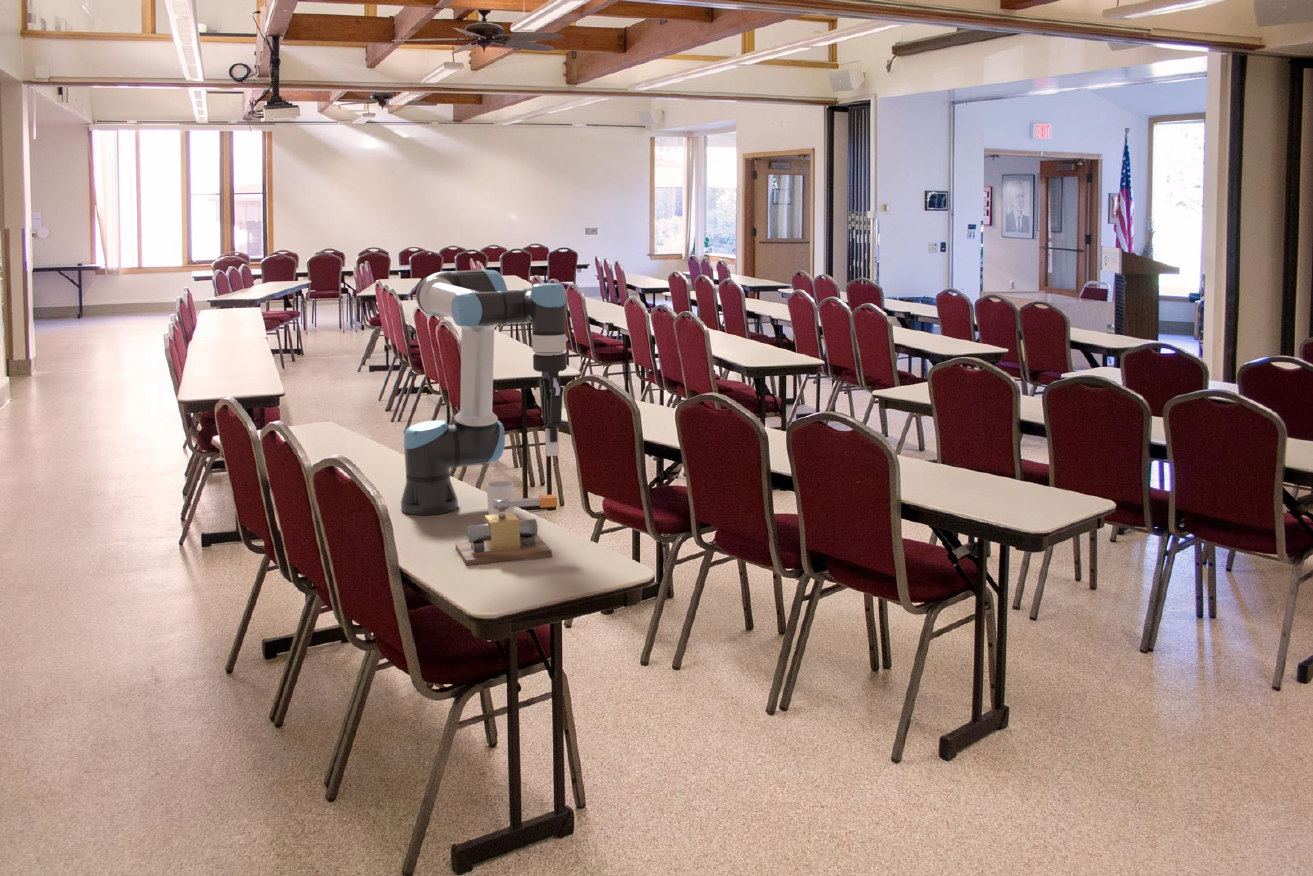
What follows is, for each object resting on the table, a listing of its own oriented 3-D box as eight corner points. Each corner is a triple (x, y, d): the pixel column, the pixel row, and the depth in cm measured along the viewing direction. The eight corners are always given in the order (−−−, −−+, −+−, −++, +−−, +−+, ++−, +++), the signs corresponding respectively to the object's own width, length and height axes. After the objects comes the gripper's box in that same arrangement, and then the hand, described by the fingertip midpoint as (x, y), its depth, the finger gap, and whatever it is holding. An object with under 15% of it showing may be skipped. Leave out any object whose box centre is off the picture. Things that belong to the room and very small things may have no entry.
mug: (517, 531, 284) (516, 485, 281) (491, 534, 281) (489, 488, 279) (509, 521, 293) (508, 476, 290) (484, 524, 291) (482, 478, 288)
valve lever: (494, 511, 262) (493, 501, 262) (493, 507, 266) (492, 498, 265) (557, 506, 265) (557, 497, 265) (555, 503, 269) (555, 494, 268)
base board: (455, 549, 270) (455, 543, 269) (537, 540, 276) (537, 534, 276) (466, 566, 257) (466, 560, 256) (551, 556, 263) (551, 550, 263)
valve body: (466, 546, 267) (464, 508, 265) (532, 539, 272) (531, 502, 270) (472, 554, 260) (470, 516, 258) (539, 547, 266) (538, 509, 264)
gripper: (573, 355, 249) (576, 459, 253) (558, 348, 260) (560, 448, 265) (540, 357, 246) (543, 462, 251) (526, 350, 258) (529, 450, 263)
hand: (552, 455), depth 258 cm, fingers closed
